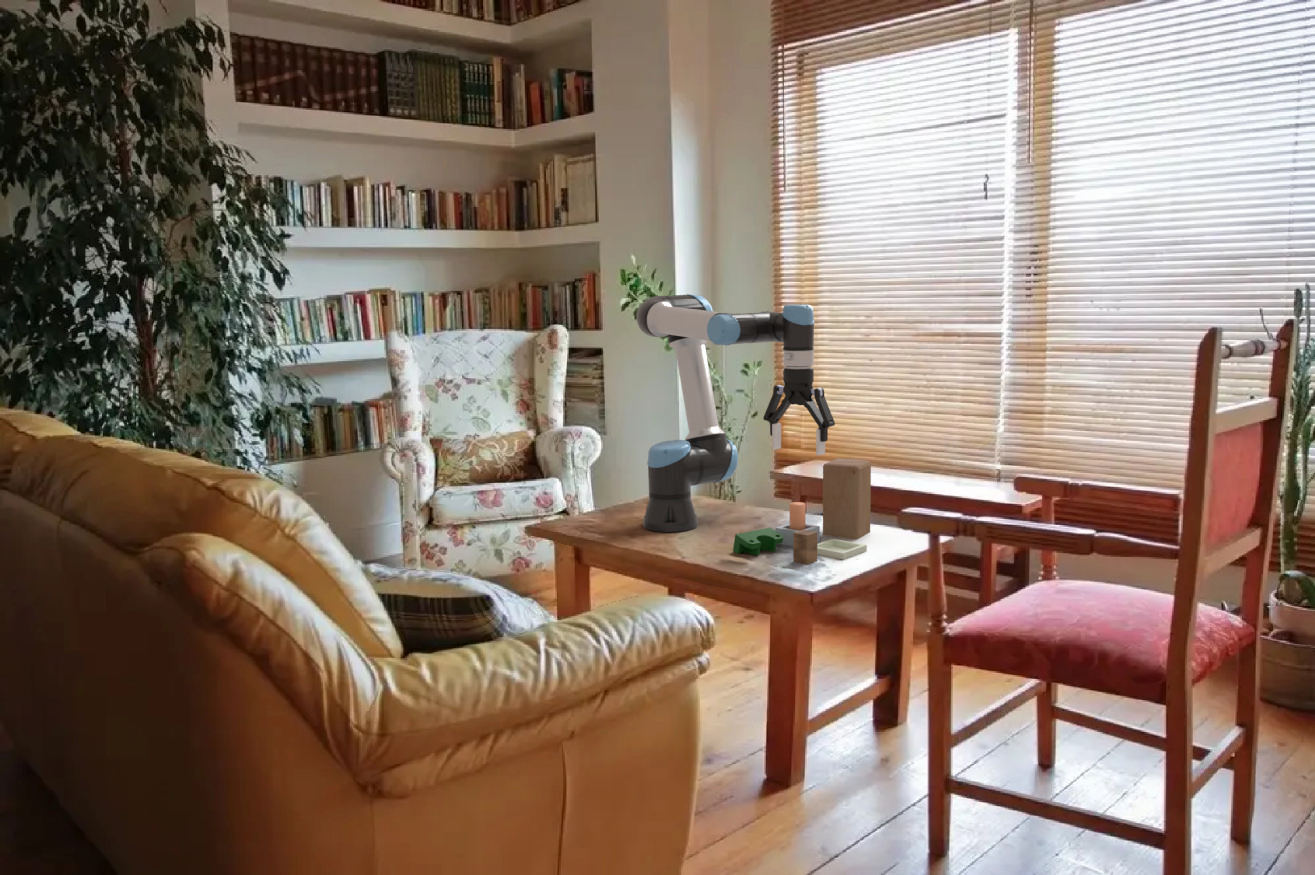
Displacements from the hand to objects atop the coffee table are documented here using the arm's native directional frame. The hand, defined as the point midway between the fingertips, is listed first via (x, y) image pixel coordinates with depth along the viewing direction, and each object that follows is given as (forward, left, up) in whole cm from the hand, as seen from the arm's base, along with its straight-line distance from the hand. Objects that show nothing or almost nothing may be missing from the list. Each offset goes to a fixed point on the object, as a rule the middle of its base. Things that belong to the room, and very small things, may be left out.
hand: (798, 451), depth 259 cm
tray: (+13, -1, -24) cm, 28 cm away
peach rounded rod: (0, 0, -23) cm, 23 cm away
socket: (0, 0, -24) cm, 24 cm away
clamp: (-2, -13, -25) cm, 28 cm away
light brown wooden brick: (+12, -13, -24) cm, 30 cm away
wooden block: (+4, +16, -25) cm, 30 cm away
